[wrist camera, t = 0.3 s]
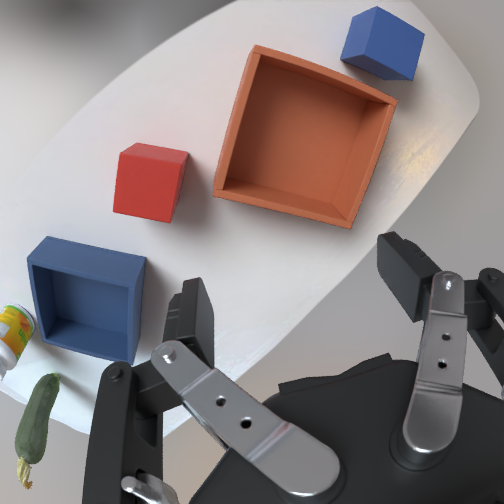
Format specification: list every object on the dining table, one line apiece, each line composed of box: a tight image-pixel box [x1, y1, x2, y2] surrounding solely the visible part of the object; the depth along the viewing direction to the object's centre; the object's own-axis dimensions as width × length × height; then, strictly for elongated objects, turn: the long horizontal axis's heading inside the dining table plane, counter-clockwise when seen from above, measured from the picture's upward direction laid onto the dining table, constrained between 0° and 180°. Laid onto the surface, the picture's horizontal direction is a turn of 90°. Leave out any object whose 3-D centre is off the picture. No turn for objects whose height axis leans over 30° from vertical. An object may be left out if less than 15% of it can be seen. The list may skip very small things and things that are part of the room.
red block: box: [113, 143, 188, 223], centre depth 22 cm, size 5×5×5 cm
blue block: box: [340, 6, 425, 81], centre depth 18 cm, size 5×5×5 cm
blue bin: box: [27, 236, 146, 366], centre depth 28 cm, size 11×11×4 cm
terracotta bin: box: [213, 45, 398, 229], centre depth 22 cm, size 11×11×4 cm
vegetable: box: [15, 373, 60, 489], centre depth 27 cm, size 4×4×20 cm
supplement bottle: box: [0, 303, 35, 381], centre depth 26 cm, size 5×5×10 cm
